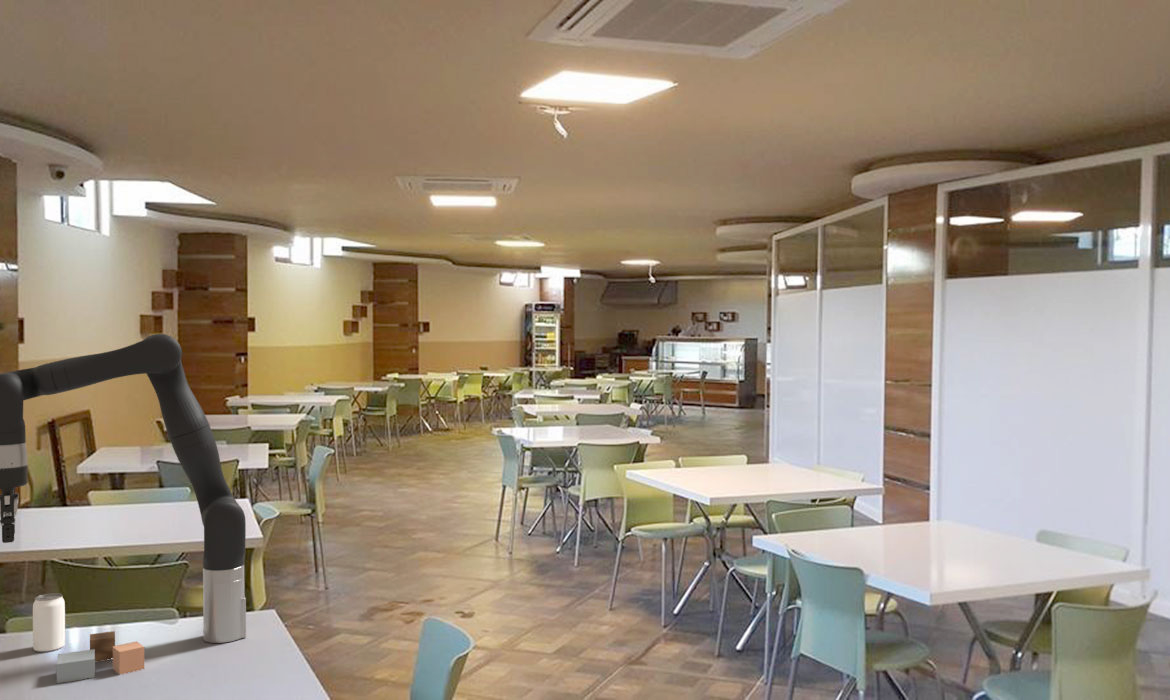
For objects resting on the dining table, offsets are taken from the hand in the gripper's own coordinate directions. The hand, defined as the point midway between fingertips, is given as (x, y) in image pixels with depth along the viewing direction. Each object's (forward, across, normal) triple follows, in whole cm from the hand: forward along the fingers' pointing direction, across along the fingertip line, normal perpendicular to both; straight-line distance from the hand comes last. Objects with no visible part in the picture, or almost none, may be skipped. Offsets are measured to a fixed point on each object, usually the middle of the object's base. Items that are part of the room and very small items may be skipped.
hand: (8, 538), depth 203 cm
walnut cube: (+29, -3, -18) cm, 34 cm away
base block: (+28, -12, -12) cm, 33 cm away
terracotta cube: (+29, -14, -22) cm, 39 cm away
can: (+29, +11, -7) cm, 31 cm away
